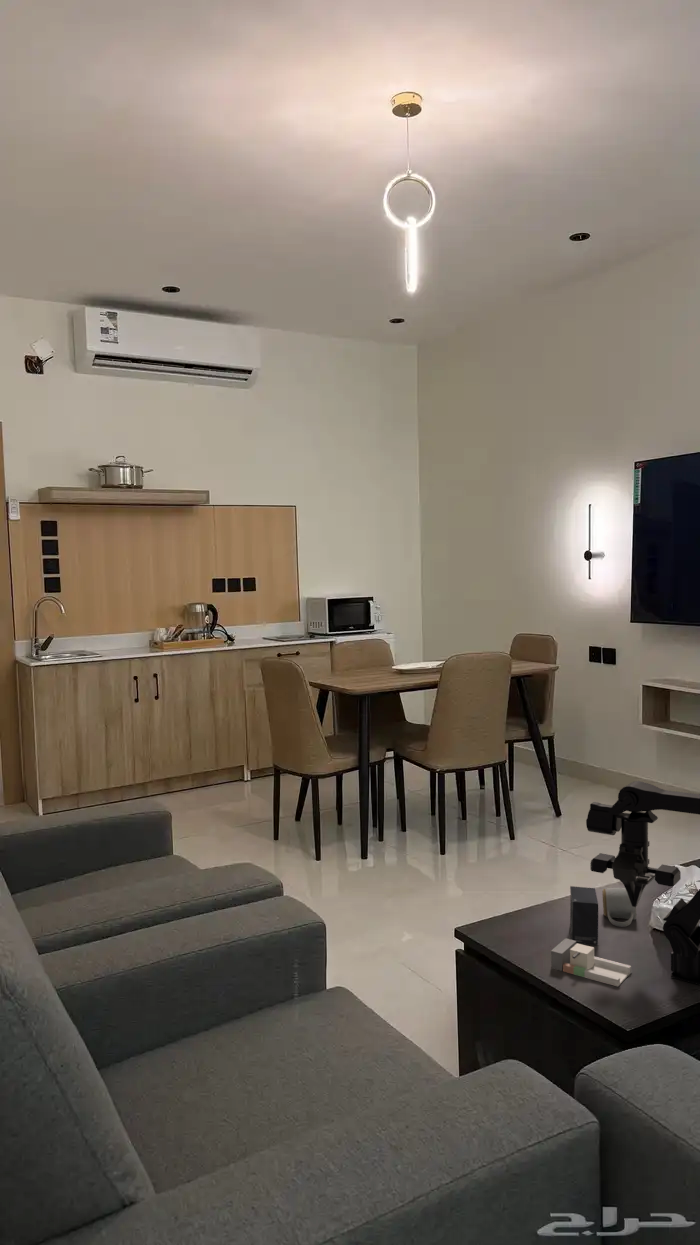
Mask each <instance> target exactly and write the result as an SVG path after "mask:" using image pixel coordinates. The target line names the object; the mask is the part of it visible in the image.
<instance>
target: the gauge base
mask: <svg viewBox="0 0 700 1245" xmlns="http://www.w3.org/2000/svg"><path fill="white" fill-rule="evenodd" d="M575 945H576V941H574V940H571V938H566V937H565V938H564V939H563V940H562V941H561V942H559V943H558V944H557V945H556V946H555V947H554V948H552V949H551V951H550V962H551V963H550V965H551V966H550V969H552V970H557V971H560V972H564V973H568V974H572V975H575V976H577V977H578V976H579V977H582V978H586V979H588V980H592V981H597V982H600V983H604V984H606V985H611V986H615V987H617V988H618V987H619V986H621V984H622V983H623V982H624V981H625V980H626V979H627V978H628V976H630V975H631V974H632V966H631V965H630V964H627V963H621V962H617V961H614V960H610V959H606V958H601V957H598V956H595V955H594V966H593V967H592V968H591V969H586V968H582V967H579V966H575V965H571V964H570V949H571V948H572V947H574V946H575Z"/></svg>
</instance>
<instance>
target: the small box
mask: <svg viewBox="0 0 700 1245" xmlns="http://www.w3.org/2000/svg"><path fill="white" fill-rule="evenodd" d="M569 889H570V891H569V892H570V895H569V896H570V903H569V904H570V910H569V912H570V913H569V915H570V916H569V918H570V919H569V929H570V930H569V931H570V940H574V941H576V944H577V943H578V944H582V945H587V946H589V945H590V946H591V945H592V946H598V945H599V901H598V896H597V889H596V888H595V887H587V886H586V887H583V886H573V885H570V888H569Z"/></svg>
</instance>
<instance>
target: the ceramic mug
mask: <svg viewBox="0 0 700 1245" xmlns="http://www.w3.org/2000/svg"><path fill="white" fill-rule="evenodd" d="M601 895H602V910H603V912H602V913H603V915H604V916H605V917H607V918H608V921H609V922H610V924H612V925H613V926H615V927H619V928H620V927H621V928H624V927H625V928H626V927H628V926H630V925H631V924H632V922H633V920H637V907H633V906H632V904H631V902H630V899H629V896H628V893H627V891H626V888H625V887H608V888H604V889H602V894H601ZM613 918H615V919H624V920H625V919H626V920H625V921H616V920H615V919H613Z"/></svg>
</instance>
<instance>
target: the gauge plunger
mask: <svg viewBox="0 0 700 1245" xmlns="http://www.w3.org/2000/svg"><path fill="white" fill-rule="evenodd" d="M594 956H595V947H594V946H591V945H590V946H589V945H587V944H578V943H577V944H576V945H575V946H574V947H572V948H571V949H570V964H571V965H575V966H579V967H582V968H586V969H591V968H592V967H593V966H594Z"/></svg>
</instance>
